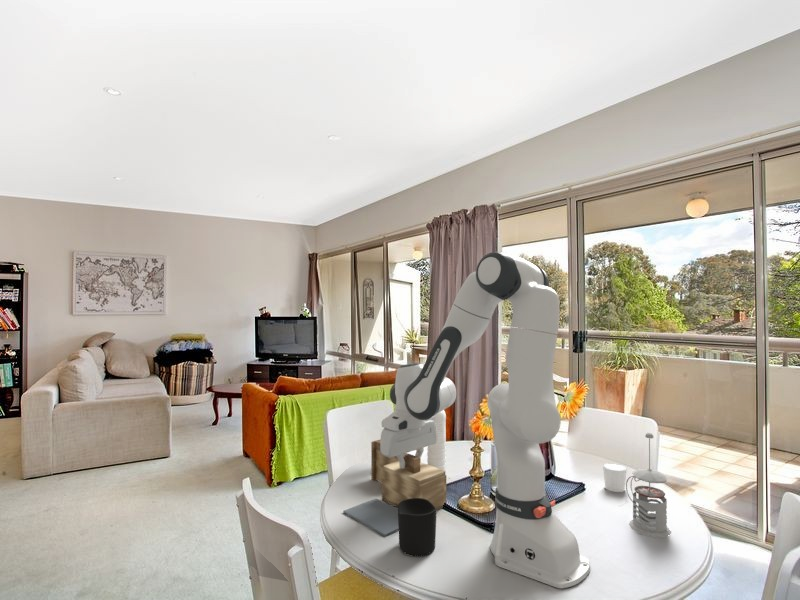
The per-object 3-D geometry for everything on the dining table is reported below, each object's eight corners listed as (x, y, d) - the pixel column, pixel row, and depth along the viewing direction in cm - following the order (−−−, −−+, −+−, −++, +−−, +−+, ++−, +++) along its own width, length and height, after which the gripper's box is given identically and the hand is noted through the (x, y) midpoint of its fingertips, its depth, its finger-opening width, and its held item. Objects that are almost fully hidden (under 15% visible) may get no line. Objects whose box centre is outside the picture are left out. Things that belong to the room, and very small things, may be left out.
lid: (445, 475, 133) (445, 457, 133) (419, 485, 126) (419, 466, 126) (408, 461, 144) (408, 445, 144) (383, 469, 137) (382, 452, 137)
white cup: (622, 485, 148) (622, 463, 148) (629, 493, 142) (629, 471, 142) (600, 483, 149) (600, 462, 150) (606, 492, 143) (606, 469, 143)
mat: (418, 521, 124) (418, 519, 124) (385, 536, 115) (385, 534, 115) (376, 500, 137) (376, 498, 137) (343, 512, 129) (343, 510, 129)
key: (401, 454, 147) (401, 446, 147) (395, 456, 145) (395, 448, 145) (381, 447, 154) (381, 439, 154) (375, 448, 152) (375, 441, 152)
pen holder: (441, 541, 113) (441, 501, 113) (429, 561, 104) (429, 518, 105) (406, 534, 117) (406, 495, 117) (391, 553, 108) (391, 511, 108)
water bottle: (447, 468, 163) (447, 398, 163) (444, 475, 157) (443, 402, 157) (423, 466, 166) (423, 397, 166) (419, 472, 159) (419, 400, 159)
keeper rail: (405, 487, 147) (405, 447, 147) (395, 491, 144) (395, 450, 144) (381, 476, 155) (381, 439, 155) (371, 480, 152) (371, 441, 152)
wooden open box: (446, 506, 133) (446, 475, 133) (419, 518, 125) (419, 485, 125) (408, 489, 145) (408, 461, 145) (382, 499, 137) (382, 469, 137)
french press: (652, 540, 114) (652, 440, 114) (615, 520, 124) (614, 428, 125) (680, 533, 117) (680, 436, 117) (641, 513, 128) (641, 424, 128)
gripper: (426, 410, 143) (426, 454, 143) (376, 422, 130) (376, 470, 130) (441, 414, 139) (441, 459, 139) (391, 426, 125) (391, 477, 125)
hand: (410, 465), depth 134 cm, fingers open, 4 cm apart
